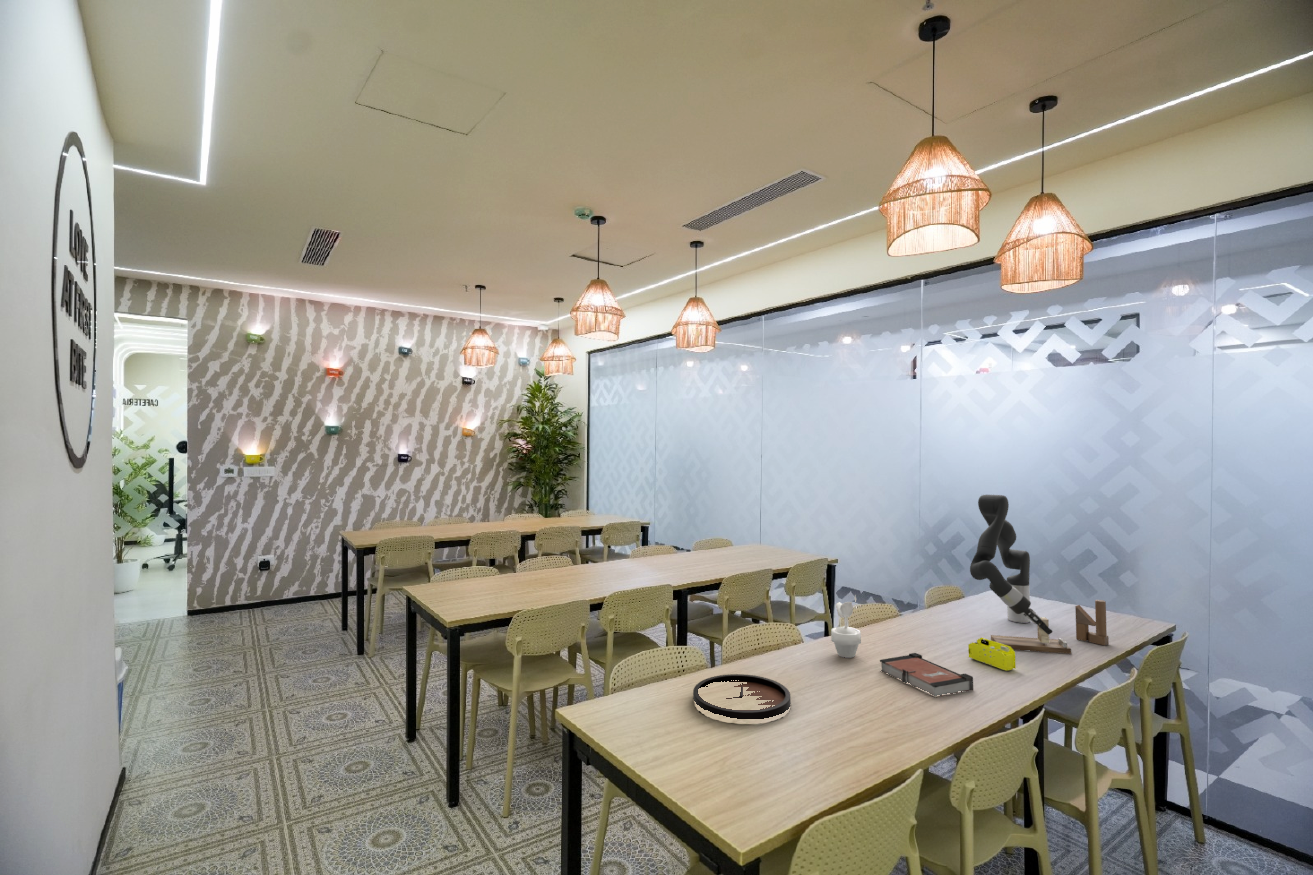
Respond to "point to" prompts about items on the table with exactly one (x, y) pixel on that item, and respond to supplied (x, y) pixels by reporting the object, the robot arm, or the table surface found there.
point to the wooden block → (1092, 624)
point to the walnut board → (1033, 644)
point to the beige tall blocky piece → (1041, 633)
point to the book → (926, 675)
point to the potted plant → (846, 632)
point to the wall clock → (755, 683)
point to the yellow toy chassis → (992, 654)
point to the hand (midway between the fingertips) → (1048, 631)
